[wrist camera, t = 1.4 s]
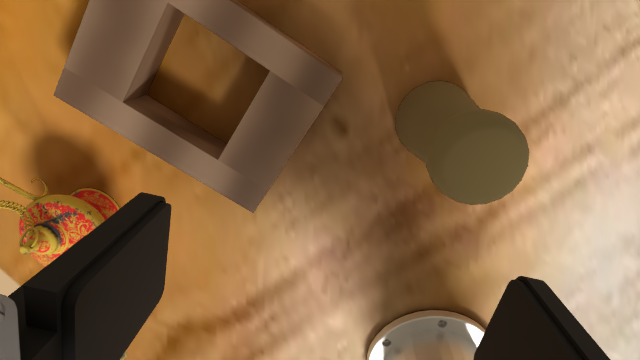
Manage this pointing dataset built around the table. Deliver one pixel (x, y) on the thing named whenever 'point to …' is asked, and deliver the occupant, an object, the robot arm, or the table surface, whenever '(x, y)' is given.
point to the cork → (462, 143)
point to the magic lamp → (58, 220)
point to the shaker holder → (172, 129)
